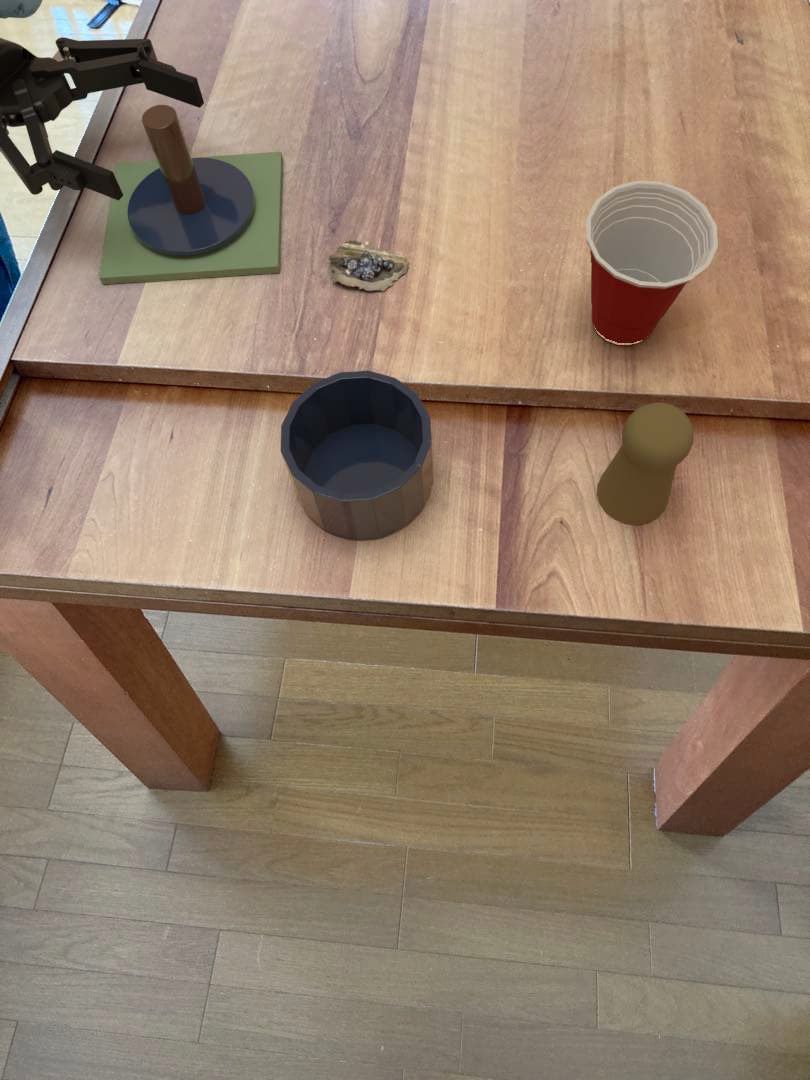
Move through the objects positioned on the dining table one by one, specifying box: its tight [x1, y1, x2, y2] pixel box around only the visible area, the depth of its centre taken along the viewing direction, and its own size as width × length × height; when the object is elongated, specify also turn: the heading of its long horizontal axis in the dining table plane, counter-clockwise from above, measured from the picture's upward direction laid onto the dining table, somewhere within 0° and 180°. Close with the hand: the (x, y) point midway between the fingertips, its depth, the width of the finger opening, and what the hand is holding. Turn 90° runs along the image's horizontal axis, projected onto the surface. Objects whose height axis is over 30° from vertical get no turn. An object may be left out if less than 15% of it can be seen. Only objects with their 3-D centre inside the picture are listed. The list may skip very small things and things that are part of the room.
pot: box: [280, 370, 434, 541], centre depth 69 cm, size 12×12×8 cm
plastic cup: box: [585, 180, 719, 343], centre depth 72 cm, size 11×11×12 cm
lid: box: [127, 104, 255, 256], centre depth 80 cm, size 13×13×11 cm
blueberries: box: [328, 239, 410, 292], centre depth 81 cm, size 7×8×2 cm
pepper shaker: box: [596, 402, 695, 526], centre depth 65 cm, size 6×6×11 cm
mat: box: [98, 151, 284, 285], centre depth 85 cm, size 18×16×1 cm
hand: (158, 138), depth 77 cm, fingers open, 13 cm apart
